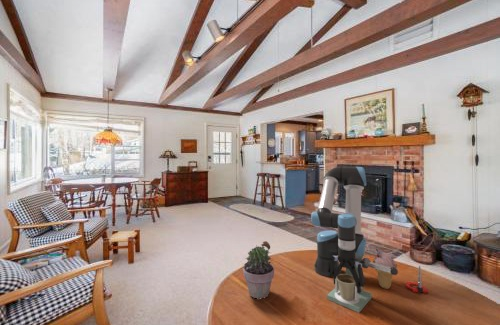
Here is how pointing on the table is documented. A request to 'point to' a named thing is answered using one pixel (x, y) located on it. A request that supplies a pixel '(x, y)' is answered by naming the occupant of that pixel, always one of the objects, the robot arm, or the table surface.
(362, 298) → the press
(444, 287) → the table surface
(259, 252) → the potted plant
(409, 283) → the tow hook
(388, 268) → the lever
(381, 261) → the ice cream cone
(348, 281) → the flower pot
